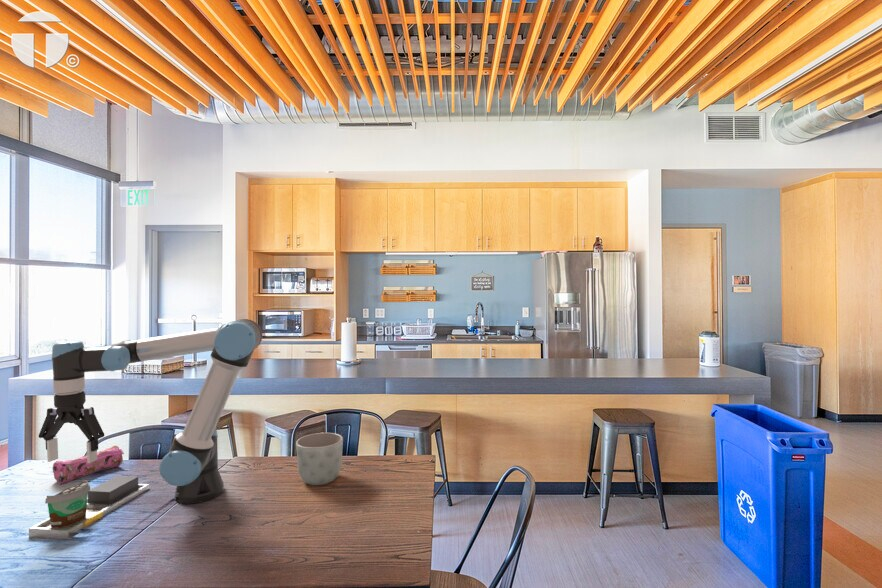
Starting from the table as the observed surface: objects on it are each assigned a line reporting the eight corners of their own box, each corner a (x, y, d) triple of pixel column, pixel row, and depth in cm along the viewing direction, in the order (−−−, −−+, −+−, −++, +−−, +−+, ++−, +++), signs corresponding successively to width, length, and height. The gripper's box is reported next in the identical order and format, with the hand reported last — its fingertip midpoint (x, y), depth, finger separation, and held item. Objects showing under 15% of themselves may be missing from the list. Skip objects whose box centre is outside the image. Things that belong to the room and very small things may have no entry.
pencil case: (60, 488, 168) (59, 464, 168) (50, 482, 173) (50, 459, 173) (126, 468, 186) (125, 446, 186) (115, 463, 191) (115, 442, 191)
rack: (150, 491, 164) (150, 483, 164) (70, 539, 133) (69, 530, 133) (116, 489, 166) (116, 482, 166) (29, 536, 135) (28, 527, 135)
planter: (353, 477, 174) (352, 437, 174) (319, 494, 160) (318, 451, 160) (321, 467, 183) (320, 429, 183) (286, 483, 169) (285, 442, 169)
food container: (63, 531, 135) (62, 498, 135) (45, 529, 136) (44, 496, 136) (101, 511, 148) (100, 480, 147) (84, 509, 149) (83, 478, 148)
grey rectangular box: (138, 490, 162) (138, 476, 162) (109, 507, 151) (109, 492, 150) (118, 489, 163) (117, 475, 163) (88, 505, 152) (87, 490, 151)
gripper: (116, 389, 143) (119, 457, 144) (45, 388, 146) (48, 455, 147) (95, 395, 136) (98, 466, 136) (21, 394, 139) (24, 464, 140)
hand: (72, 460), depth 142 cm, fingers open, 13 cm apart
